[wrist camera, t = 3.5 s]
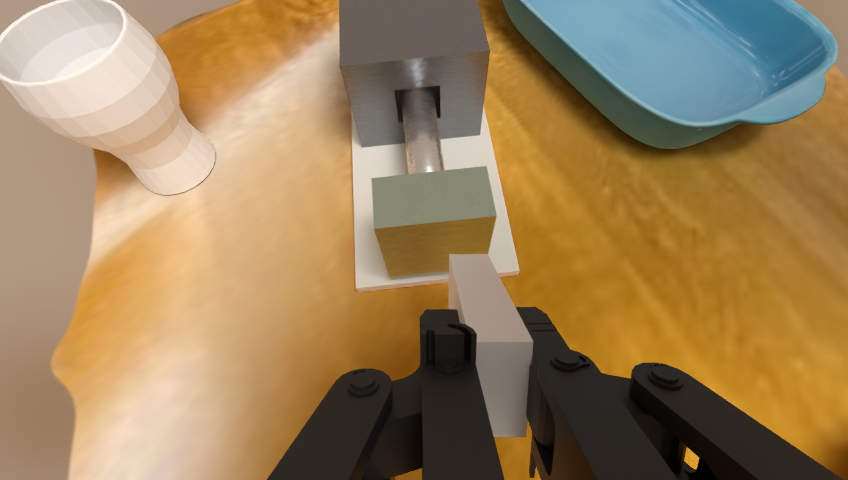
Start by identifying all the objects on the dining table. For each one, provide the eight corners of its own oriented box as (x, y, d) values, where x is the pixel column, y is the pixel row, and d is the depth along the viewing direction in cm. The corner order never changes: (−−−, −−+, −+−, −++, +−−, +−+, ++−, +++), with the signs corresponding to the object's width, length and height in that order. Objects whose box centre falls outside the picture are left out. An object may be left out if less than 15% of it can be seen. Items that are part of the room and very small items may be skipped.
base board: (517, 275, 36) (519, 270, 35) (358, 292, 36) (355, 288, 35) (473, 69, 48) (474, 61, 47) (352, 81, 47) (350, 74, 47)
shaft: (484, 268, 35) (496, 215, 27) (390, 279, 35) (373, 228, 27) (456, 111, 43) (459, 33, 35) (379, 119, 43) (364, 43, 35)
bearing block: (480, 135, 42) (489, 50, 33) (362, 147, 42) (339, 66, 33) (465, 65, 46) (471, -25, 37) (359, 77, 46) (339, -12, 37)
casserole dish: (459, -2, 54) (461, -62, 47) (597, -56, 58) (616, -119, 51) (660, 211, 39) (703, 164, 32) (829, 118, 43) (897, 60, 36)
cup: (186, 110, 47) (81, -26, 33) (250, 153, 43) (164, 22, 30) (106, 175, 43) (-48, 52, 30) (170, 226, 40) (31, 115, 26)
